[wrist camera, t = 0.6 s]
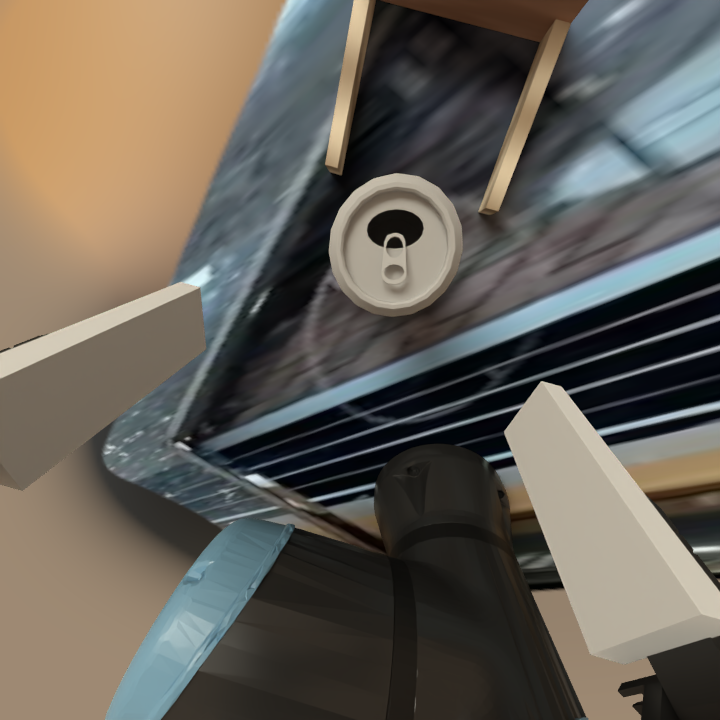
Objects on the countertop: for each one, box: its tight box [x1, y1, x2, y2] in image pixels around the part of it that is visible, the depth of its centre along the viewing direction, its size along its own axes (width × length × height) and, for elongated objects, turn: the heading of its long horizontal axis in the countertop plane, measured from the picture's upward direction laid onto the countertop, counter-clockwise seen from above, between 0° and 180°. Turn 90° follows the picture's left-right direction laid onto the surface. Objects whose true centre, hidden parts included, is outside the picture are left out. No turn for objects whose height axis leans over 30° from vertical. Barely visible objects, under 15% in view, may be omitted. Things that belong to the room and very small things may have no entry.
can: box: [329, 173, 463, 317], centre depth 20 cm, size 8×8×12 cm
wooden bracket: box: [325, 0, 588, 215], centre depth 18 cm, size 12×14×6 cm
